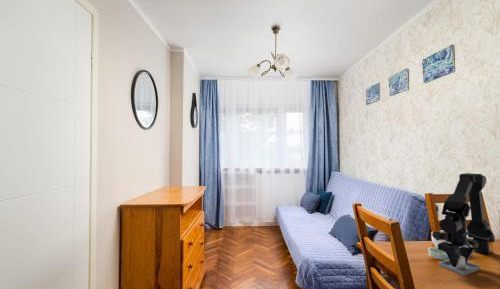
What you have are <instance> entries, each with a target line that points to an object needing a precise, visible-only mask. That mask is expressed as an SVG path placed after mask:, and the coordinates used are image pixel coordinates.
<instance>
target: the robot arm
mask: <svg viewBox="0 0 500 289" xmlns="http://www.w3.org/2000/svg"><path fill="white" fill-rule="evenodd" d="M458 177H459V179H458V181H457V183H456V187H455V190H454V192H453V193H452V194H450V195H448V196H447V198H446V199H445V200H444V201H443V202H444V203H443V207H442V209H441V210H442V211H441V215H443V216H444V218H443V219H441V220H440V221H439V227H440V229H441V230H442V231H444V232H439V231H440V230H435V231H433V237H434V238H435V239H436V240H445V241H446V242H442V243H439V244H438V249H439V250H442V251H444V252H445V253H446V254H447V255H448V257H449V260H450V262H451V265H452V266H453V267H456V266H457V263H458V261H459V258H460V256H463V257H465V264H466V262H469V259H470V258H471V256H472V255H473V254H474V252H477V253H480V254H483V255H491V254H494V251H493V250H490V243H496V239H495V234H494V232H493V230H492V229H491V225H490V224H489V223H488V221H487V220H486V219H485V213H484V203H483V195H482V190H483V189H484V188H485V186H486V184H487V177H486V176H485V175H483V174H482V173H471V172H470V173H468V172H466V173H465V172H464V173H460V174H459V175H458ZM468 198H469V199H468ZM469 214H470V216H471V220H470V221H469V222H468V223H467V218H468V217H469ZM447 242H451V244H450V243H447Z"/></svg>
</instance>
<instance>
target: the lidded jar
mask: <svg viewBox="0 0 500 289" xmlns="http://www.w3.org/2000/svg"><path fill="white" fill-rule="evenodd" d="M438 231H439V232H444V231H443V230H442V231H440V230H438ZM430 235H431V236H430V237H431V242H432V244H433V246H434V247H435V248H438V244H439V243H442V242H446V241H445V240H436V239H435V238H434V237H433V231H431V232H430ZM447 243H450V244H451V242H447Z"/></svg>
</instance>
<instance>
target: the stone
mask: <svg viewBox="0 0 500 289" xmlns="http://www.w3.org/2000/svg"><path fill="white" fill-rule="evenodd" d="M455 268H457V269H460V270H465V257H463V256H460V258H459V261H458V263H457V266H456V267H455Z"/></svg>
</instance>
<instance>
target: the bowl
mask: <svg viewBox="0 0 500 289" xmlns="http://www.w3.org/2000/svg"><path fill="white" fill-rule="evenodd" d="M427 255H428V256H429V257H430V258H433V259H437V260H442V261H445V260H448V259H449V257H448V255H447V254H446V253H445V252H444V251H442V250H439V249H438V248H437V247H436V246H434V247H432V246H431V247H428V248H427Z"/></svg>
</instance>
